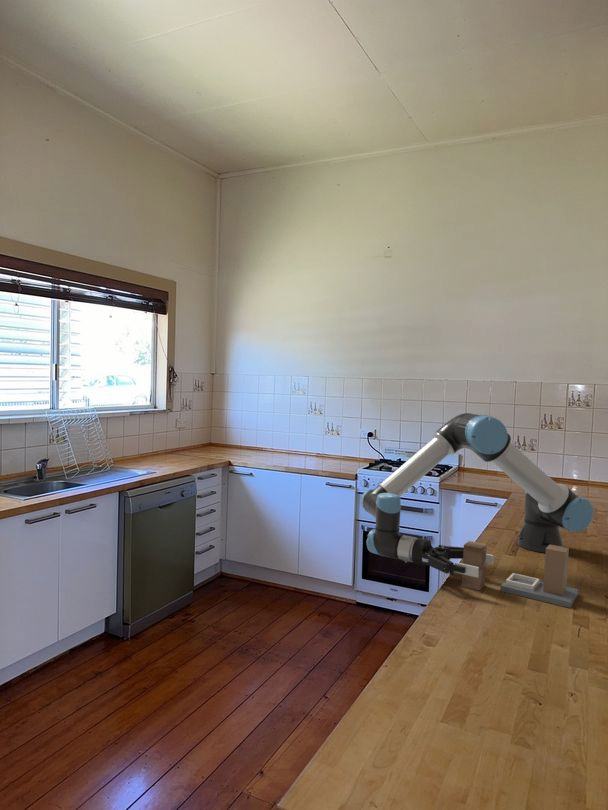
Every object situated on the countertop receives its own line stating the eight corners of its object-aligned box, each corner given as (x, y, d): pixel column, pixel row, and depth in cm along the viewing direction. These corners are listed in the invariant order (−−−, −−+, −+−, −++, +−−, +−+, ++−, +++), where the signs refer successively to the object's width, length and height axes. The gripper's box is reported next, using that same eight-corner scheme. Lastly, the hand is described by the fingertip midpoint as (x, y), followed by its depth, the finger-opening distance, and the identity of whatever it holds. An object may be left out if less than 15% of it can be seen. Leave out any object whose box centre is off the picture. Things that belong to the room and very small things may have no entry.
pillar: (467, 581, 164) (469, 540, 163) (484, 585, 161) (486, 544, 161) (461, 586, 160) (463, 544, 159) (479, 590, 157) (481, 548, 156)
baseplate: (511, 579, 167) (514, 534, 166) (577, 594, 157) (580, 546, 156) (500, 591, 157) (503, 543, 156) (570, 608, 147) (573, 557, 146)
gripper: (430, 552, 181) (497, 567, 169) (397, 573, 160) (470, 592, 148) (431, 529, 180) (498, 543, 168) (398, 547, 160) (472, 564, 148)
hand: (485, 566), depth 158 cm, fingers open, 13 cm apart
